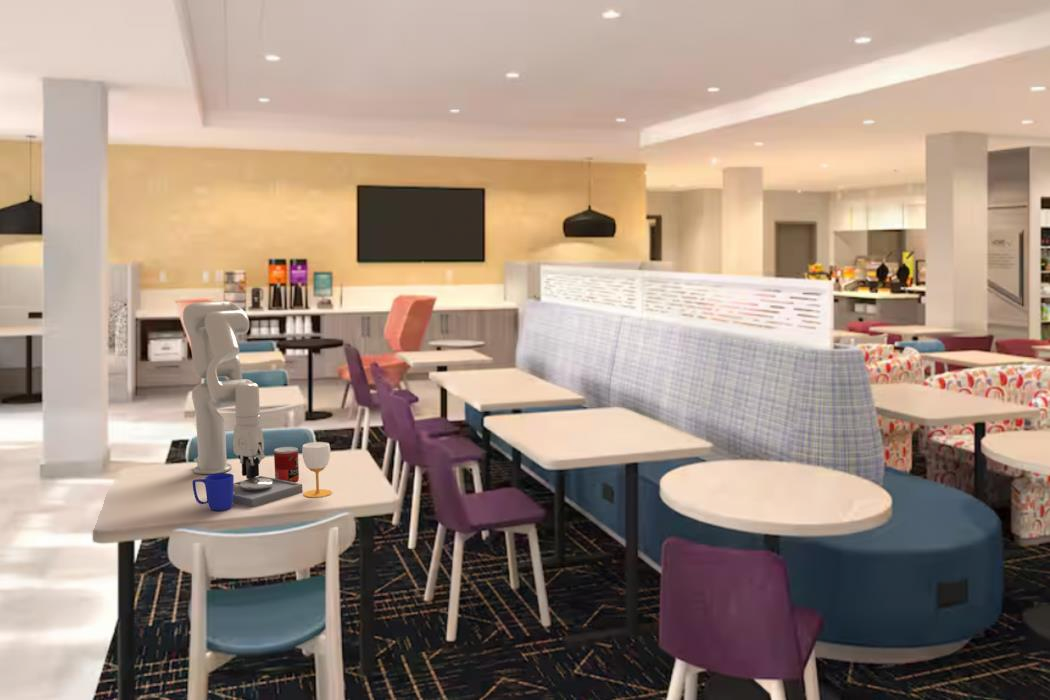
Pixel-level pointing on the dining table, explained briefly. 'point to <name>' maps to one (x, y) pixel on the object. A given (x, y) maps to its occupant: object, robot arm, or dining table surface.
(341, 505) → the dining table surface
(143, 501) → the dining table surface
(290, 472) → the canned food
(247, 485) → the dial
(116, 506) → the dining table surface
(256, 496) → the tray
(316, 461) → the cup
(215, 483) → the mug
